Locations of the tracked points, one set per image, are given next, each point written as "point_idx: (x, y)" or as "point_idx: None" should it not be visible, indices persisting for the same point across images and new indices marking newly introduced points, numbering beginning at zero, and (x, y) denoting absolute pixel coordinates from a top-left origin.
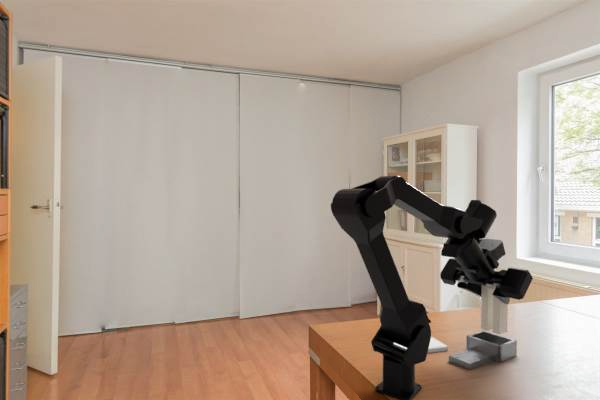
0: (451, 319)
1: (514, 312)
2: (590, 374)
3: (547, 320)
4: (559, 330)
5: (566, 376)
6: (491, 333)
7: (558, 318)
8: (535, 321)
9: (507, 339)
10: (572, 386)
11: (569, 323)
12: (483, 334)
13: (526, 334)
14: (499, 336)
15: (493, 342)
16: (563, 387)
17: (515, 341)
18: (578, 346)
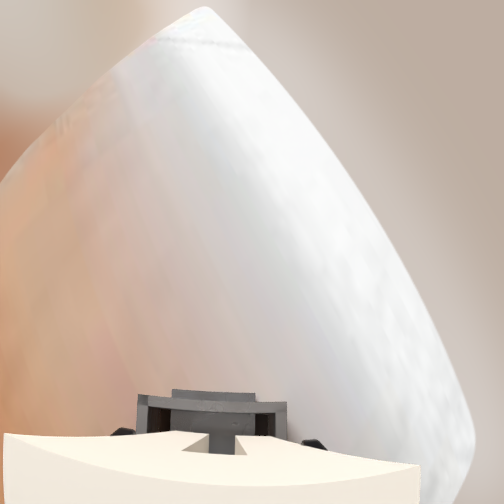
0: (6, 245)
1: (124, 95)
2: (438, 349)
3: (197, 92)
4: (244, 124)
5: (422, 416)
6: (180, 405)
7: (208, 74)
8: (180, 109)
9: (253, 412)
10: (449, 454)
11: (236, 84)
12: (150, 408)
13: (202, 198)
14: (218, 411)
15: (194, 411)
16: (441, 478)
17: (286, 411)
18: (327, 189)
